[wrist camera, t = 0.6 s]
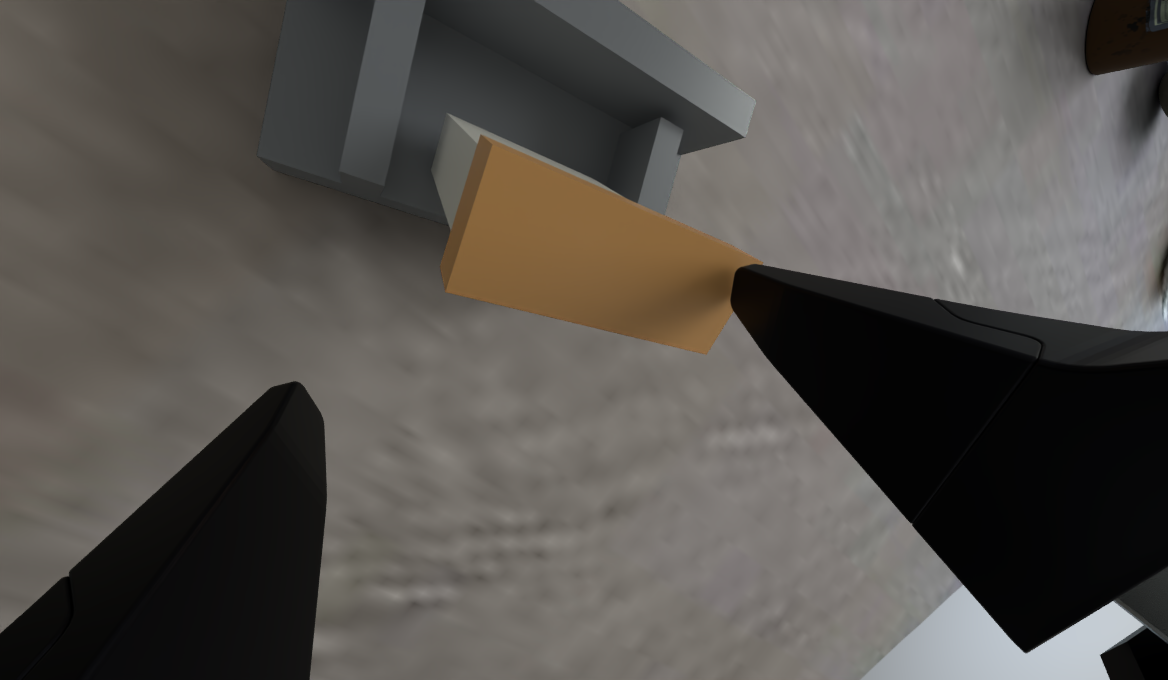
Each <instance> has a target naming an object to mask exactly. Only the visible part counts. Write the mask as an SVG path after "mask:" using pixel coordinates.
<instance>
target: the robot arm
mask: <svg viewBox="0 0 1168 680" xmlns="http://www.w3.org/2000/svg"><path fill="white" fill-rule="evenodd" d="M730 303H731V307H732V309H733V311H734V312H735V314H736V315H737V317H738V318H739V319H740V321H741V322H742V324H743V325H744V327H745V328H746V329H747V331H748V332H749V334H750V335H751V337H752V338H753V339H754V341H755V342H756V344H757V345H758V347H759V348H760V349H761V351H762V352H763V353H764V355H765V356H766V357H767V359H768V360H769V361H770V362H771V364H772V365H773V366H774V367H775V368H776V369H777V371H778V372H779V373H780V374H781V375H782V376H783V377H784V379H785V380H786V381H787V382H788V383H789V384H790V385H791V387H792V388H793V389H794V390H795V391H796V392H797V394H798V395H799V396H800V397H801V398H802V399H803V400H804V402H805V403H806V404H807V405H808V406H809V407H810V408H811V410H812V411H813V412H814V413H815V414H816V415H817V417H818V418H819V419H820V420H821V421H822V422H823V423H824V425H825V426H826V427H827V428H828V429H829V430H830V431H831V433H832V434H833V435H834V436H835V437H836V438H837V439H838V441H839V442H840V443H841V444H842V445H843V446H844V448H845V449H846V450H847V451H848V452H849V453H850V454H851V456H852V457H853V458H854V459H855V460H856V461H857V462H858V464H859V465H860V466H861V467H862V468H863V469H864V471H865V472H866V473H867V474H868V475H869V476H870V477H871V479H872V480H873V481H874V482H875V483H876V484H877V485H878V487H879V488H880V489H881V490H882V491H883V492H884V493H885V495H886V496H887V497H888V498H889V499H890V500H891V502H892V503H893V504H894V505H895V506H896V507H897V508H898V510H899V511H900V512H901V513H902V514H903V515H904V516H905V518H906V519H907V520H908V521H909V522H910V523H912V526H913V527H914V528H915V530H916V531H917V532H918V533H919V534H920V535H921V537H922V538H923V539H924V540H925V541H926V542H927V543H928V545H929V546H930V547H931V548H932V549H933V550H934V551H935V553H936V554H937V555H938V556H939V557H940V558H941V560H942V561H943V562H944V563H945V564H946V565H947V566H948V568H949V569H950V570H951V571H952V572H953V573H954V574H955V576H956V577H957V578H958V579H959V580H960V581H961V583H962V584H963V585H964V586H965V587H966V588H967V589H968V590H969V592H970V593H971V594H972V595H973V596H974V597H975V599H976V600H977V601H978V602H979V603H980V604H981V606H982V607H983V608H984V609H985V610H986V611H987V612H988V614H989V615H990V616H991V617H992V618H993V619H994V621H995V622H996V623H997V624H998V625H999V626H1000V627H1001V628H1002V629H1003V631H1004V632H1005V633H1006V634H1007V635H1008V637H1009V638H1010V639H1011V640H1012V641H1013V642H1014V643H1015V644H1016V645H1017V646H1018V647H1019V648H1020V649H1021V650H1022V651H1023V652H1024V653H1028V652H1030V651H1031V650H1033V649H1035V648H1036V647H1038V646H1039V645H1041V644H1043V643H1045V642H1046V641H1047V640H1049V639H1051V638H1053V637H1054V636H1056V635H1058V634H1059V633H1061V632H1062V631H1064V630H1066V629H1067V628H1069V627H1071V626H1072V625H1074V624H1076V623H1077V622H1079V621H1081V620H1082V619H1084V618H1086V617H1087V616H1089V615H1090V614H1092V613H1094V612H1095V611H1097V610H1099V609H1100V608H1102V607H1103V606H1105V605H1107V604H1109V603H1110V602H1112V601H1114V602H1115V603H1117V604H1118V605H1119V606H1120V607H1122V608H1123V609H1124V610H1126V611H1127V612H1128V613H1129V614H1131V615H1132V616H1133V617H1134V618H1136V619H1137V620H1138V621H1140V622H1141V623H1142V624H1143V625H1144V626H1142V627H1141V628H1139V629H1138V630H1136V631H1135V632H1133V633H1132V634H1131V635H1129V636H1127V637H1126V638H1125V639H1123V640H1122V641H1120V642H1119V643H1117V644H1116V645H1114V646H1113V647H1111V648H1110V649H1108V650H1107V651H1105V652H1104V653H1102V654H1101V655H1100V656H1101V659H1102V661H1103V663H1104V666H1105V668H1106V670H1107V673H1108V675H1109V678H1110V680H1168V331H1166V332H1145V331H1129V330H1121V329H1113V328H1107V327H1100V326H1094V325H1087V324H1081V323H1075V322H1068V321H1062V320H1056V319H1049V318H1043V317H1036V316H1030V315H1024V314H1018V313H1012V312H1006V311H1000V310H994V309H988V308H983V307H977V306H972V305H966V304H961V303H955V302H950V301H945V300H940V299H934V300H933V299H932V298H929V297H924V296H919V295H914V294H909V293H904V292H898V291H893V290H888V289H883V288H878V287H873V286H868V285H862V284H857V283H852V282H847V281H842V280H837V279H832V278H826V277H821V276H816V275H811V274H806V273H801V272H795V271H790V270H785V269H780V268H775V267H770V266H765V265H759V264H750V265H746V266H742V267H739V268H738V269H737V270H736V272H735V274H734V279H733V285H732V291H731V297H730ZM326 503H327V482H326V456H325V431H324V421H323V417H322V415H321V413H320V411H319V409H318V408H317V406H316V405H315V403H314V401H313V400H312V398H311V397H310V395H309V394H308V392H307V390H306V389H305V387H304V386H303V385H302V384H301V383H299V382H296V381H293V382H289V383H285V384H282V385H278V386H274V387H272V388H270V389H269V390H268V391H266V392H265V393H264V394H263V395H262V396H261V397H260V398H259V399H258V400H257V401H255V402H254V403H253V404H252V405H251V406H250V407H249V408H248V409H247V410H246V411H245V412H243V413H242V414H241V415H240V416H239V417H238V418H237V419H236V420H235V421H234V422H232V423H231V424H230V425H229V426H228V427H227V428H226V429H225V430H224V431H223V432H221V433H220V434H219V435H218V436H217V437H216V438H215V439H214V440H213V441H212V442H211V443H209V444H208V445H207V446H206V447H205V448H204V449H203V450H202V451H201V452H200V453H198V454H197V455H196V456H195V457H194V458H193V459H192V460H191V461H190V462H189V463H187V464H186V465H185V466H184V467H183V468H182V469H181V470H180V471H179V472H178V473H177V474H175V475H174V476H173V477H172V478H171V479H170V480H169V481H168V482H167V483H166V484H164V485H163V486H162V487H161V488H160V489H159V490H158V491H157V492H156V493H155V494H153V495H152V496H151V497H150V498H149V499H148V500H147V501H146V502H145V503H144V504H143V505H141V506H140V507H139V508H138V509H137V510H136V511H135V512H134V513H133V514H132V515H130V516H129V517H128V518H127V519H126V520H125V521H124V522H123V523H122V524H121V525H120V526H118V527H117V528H116V529H115V530H114V531H113V532H112V533H111V534H110V535H109V536H107V537H106V538H105V539H104V540H103V541H102V542H101V543H100V544H99V545H98V546H96V547H95V548H94V549H93V550H92V551H91V552H90V553H89V554H88V555H87V556H86V557H84V558H83V559H82V560H81V561H80V562H79V563H78V564H77V565H76V566H75V567H73V568H72V569H71V570H70V572H69V576H66V577H63V578H61V579H60V580H59V581H58V582H57V583H56V584H55V585H53V586H52V587H51V588H50V589H49V590H48V591H47V592H46V593H45V594H44V595H43V596H42V597H40V598H39V599H38V600H37V601H36V602H35V603H34V604H33V605H32V606H31V607H30V608H28V609H27V610H26V611H25V612H24V613H23V614H22V615H21V616H19V617H18V618H17V619H16V620H15V621H14V622H13V623H12V624H10V625H9V626H8V627H7V628H6V629H5V630H4V631H3V632H1V633H0V680H309V679H310V669H311V659H312V649H313V638H314V628H315V618H316V608H317V598H318V587H319V577H320V567H321V557H322V547H323V536H324V526H325V516H326Z"/></svg>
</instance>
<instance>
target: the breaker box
mask: <svg viewBox="0 0 1168 680" xmlns="http://www.w3.org/2000/svg"><path fill="white" fill-rule="evenodd" d="M755 103H756V100H754V99H753V98H751V97H750V96H749V95H747V94H746V93H745V92H743V91H742V90H740V89H739V88H738V87H736V86H735V85H734V84H732V83H731V82H729V81H728V80H727V79H725V78H724V77H723V76H721V75H720V74H718V73H717V72H716V71H714V70H713V69H712V68H710V67H709V66H707V65H706V64H705V63H703V62H702V61H701V60H699V59H698V58H696V57H695V56H694V55H692V54H691V53H690V52H688V51H687V50H685V49H684V48H683V47H681V46H680V45H679V44H677V43H676V42H674V41H673V40H672V39H670V38H669V37H668V36H666V35H665V34H663V33H662V32H661V31H659V30H658V29H657V28H655V27H654V26H652V25H651V24H650V23H648V22H647V21H646V20H644V19H643V18H641V17H640V16H639V15H637V14H636V13H635V12H633V11H632V10H630V9H629V8H628V7H626V6H625V5H624V4H622V3H621V2H619V1H618V0H287V3H286V8H285V13H284V18H283V23H282V28H281V34H280V39H279V44H278V49H277V54H276V59H275V64H274V69H273V74H272V79H271V85H270V90H269V95H268V100H267V105H266V110H265V115H264V120H263V125H262V130H261V136H260V141H259V146H258V151H257V157H259V158H260V159H261V160H262V161H263V162H264V163H265V164H267V165H268V166H269V167H270V168H271V169H272V170H275V171H278V172H281V173H284V174H288V175H291V176H294V177H297V178H300V179H303V180H306V181H310V182H313V183H316V184H319V185H322V186H325V187H328V188H332V189H335V190H338V191H341V192H344V193H347V194H350V195H354V196H357V197H360V198H363V199H366V200H369V201H372V202H376V203H379V204H382V205H385V206H388V207H391V208H394V209H398V210H401V211H404V212H407V213H410V214H413V215H416V216H420V217H423V218H426V219H429V220H432V221H435V222H438V223H442V224H445V225H448V226H449V224H448V221H447V218H446V215H445V212H444V209H443V205H442V202H441V199H440V196H439V193H438V190H437V187H436V184H435V181H434V178H433V175H432V172H431V168H432V164H433V161H434V157H435V153H436V150H437V146H438V142H439V139H440V135H441V131H442V128H443V124H444V120H445V117H446V113H448V114H451V115H453V116H455V117H457V118H460V119H462V120H464V121H466V122H468V123H471V124H473V125H475V126H477V127H480V128H482V129H484V130H486V131H488V132H491V133H493V134H495V135H497V136H500V137H502V138H504V139H506V140H508V141H511V142H513V143H515V144H517V145H520V146H522V147H524V148H526V149H528V150H531V151H533V152H535V153H537V154H540V155H542V156H544V157H546V158H548V159H551V160H553V161H555V162H557V163H560V164H562V165H564V166H566V167H568V168H571V169H573V170H575V171H577V172H580V173H582V174H584V175H586V176H588V177H591V178H593V179H594V180H596V181H598V182H600V183H601V184H603V185H605V186H606V187H608V188H610V189H611V190H613V191H615V192H616V193H618V194H620V195H621V196H623V197H625V198H626V199H628V200H631V201H633V202H635V203H637V204H640V205H642V206H644V207H647V208H649V209H651V210H653V211H656V212H658V213H660V214H662V215H665V211H666V208H667V204H668V201H669V197H670V193H671V190H672V186H673V183H674V179H675V175H676V172H677V168H678V165H679V161H680V157H681V155H683V154H686V153H690V152H694V151H697V150H701V149H705V148H709V147H712V146H716V145H720V144H723V143H727V142H731V141H734V140H738V139H742V138H746V134H747V131H748V127H749V124H750V120H751V117H752V113H753V110H754V106H755Z"/></svg>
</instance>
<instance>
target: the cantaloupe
mask: <svg viewBox="0 0 1168 680" xmlns="http://www.w3.org/2000/svg"><path fill="white" fill-rule="evenodd" d="M1159 100H1160V105H1161V107H1162V109H1163V111H1164V113H1165V114H1166V116H1167V117H1168V72H1167V73H1166V74H1165V76H1164V77H1163V78H1162V80H1161V83H1160V86H1159Z"/></svg>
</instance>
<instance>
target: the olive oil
mask: <svg viewBox="0 0 1168 680" xmlns="http://www.w3.org/2000/svg"><path fill="white" fill-rule="evenodd" d="M1086 60H1087V65H1088V68H1089V70H1090V72H1091V73H1092V74H1094V75H1100V74H1105V73H1110V72H1115V71H1120V70H1125V69H1129V68H1134V67H1139V66H1144V65H1149V64H1154V63H1158V62H1163V61H1168V0H1095V2H1094V5H1093V8H1092V11H1091V15H1090V19H1089V24H1088V29H1087V37H1086Z"/></svg>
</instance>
